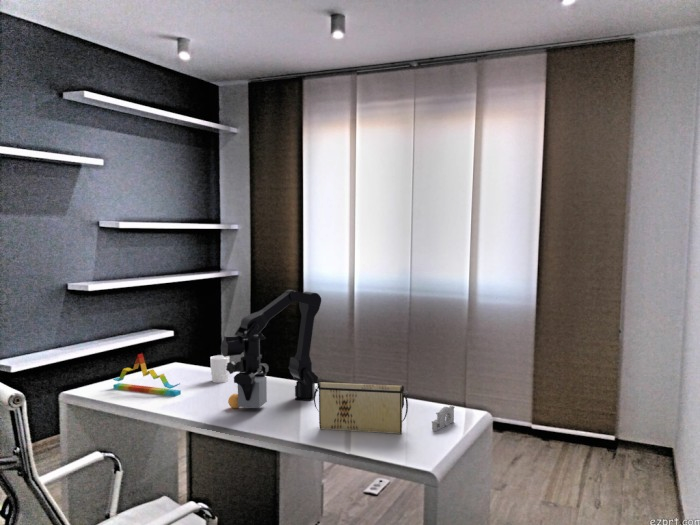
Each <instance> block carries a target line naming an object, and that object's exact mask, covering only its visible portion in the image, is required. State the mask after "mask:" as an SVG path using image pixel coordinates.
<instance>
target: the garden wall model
mask: <svg viewBox="0 0 700 525" xmlns="http://www.w3.org/2000/svg"><path fill="white" fill-rule="evenodd" d="M435 414H436V415H437V416H436V419H434V420H433V421H431V429H432V432H433V431H434V432H437V431H439V430H440V429H443V428H445V427H448V426H450V425H451V424H452V423H454V421H455V406H454V405H453V404H452V405H450V406H444V407H442V408H441V409H440V410H439V411H438V412H435Z"/></svg>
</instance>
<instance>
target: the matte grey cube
mask: <svg viewBox="0 0 700 525" xmlns="http://www.w3.org/2000/svg"><path fill="white" fill-rule="evenodd" d="M267 377H268V376H265V377H255V380H254V381H255V385H254V388H253V391H252V395H251V398H250V400H249V401H246V398H245V395H244V392H243V389H242V387H241V386H240V385H239V384H237V394H238V407H239V408H251V409H260V408H261V407H262V406H263V405H264V404H266V403H267V402H268V401H267V400H268V399H267V396H268V395H267V393H268V392H267V391H268V389H267V384H268V383H267Z"/></svg>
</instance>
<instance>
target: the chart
mask: <svg viewBox="0 0 700 525" xmlns="http://www.w3.org/2000/svg"><path fill="white" fill-rule="evenodd" d="M133 365H134V366H133V368H131V367H125V368H123V369H122V371H121V373H120V375H119V376H117V377H114V378H113V381H116V382H117V383H115V384H113V385H112V386H113V388H112V389H114V390H120V391H126V392H127V391H129V392H136V393H144V394H145V393H146V394H153V395H161V396H162V395H163V396H167V397H168V396H169V397H170V396H171V397H177V396H180V395H181V394H182V392H181V391H182V390H180V389H173V388H175V387H178V385H181V383H177V384H175V385H173V384H170V382H169V381H168V379H167V377H166V375H165V373H162V374H157V372H156V371H155V369H150V370H148V369H147V364H146V361H145V357H144V354H143V352H141V353H138V354H137V357H136V360H135V362H134V364H133ZM139 366H140V369H141V372H142V376H143V377H146V376H149V375H150V376H151V378H153V380H156V379H159V378H160V381H161V382H162V384H163V387H155V386H147V385H138V384H130V383H123V382H121V381H123V380H124V379H125V377H126V374H127V373H128V372H131V371H135V370H137V369H139Z"/></svg>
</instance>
